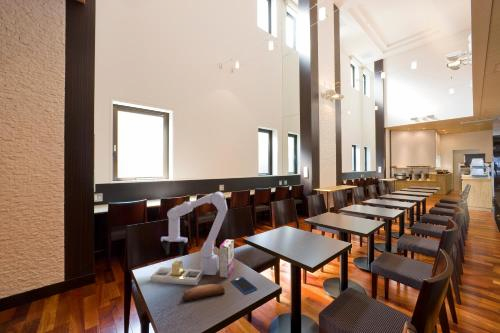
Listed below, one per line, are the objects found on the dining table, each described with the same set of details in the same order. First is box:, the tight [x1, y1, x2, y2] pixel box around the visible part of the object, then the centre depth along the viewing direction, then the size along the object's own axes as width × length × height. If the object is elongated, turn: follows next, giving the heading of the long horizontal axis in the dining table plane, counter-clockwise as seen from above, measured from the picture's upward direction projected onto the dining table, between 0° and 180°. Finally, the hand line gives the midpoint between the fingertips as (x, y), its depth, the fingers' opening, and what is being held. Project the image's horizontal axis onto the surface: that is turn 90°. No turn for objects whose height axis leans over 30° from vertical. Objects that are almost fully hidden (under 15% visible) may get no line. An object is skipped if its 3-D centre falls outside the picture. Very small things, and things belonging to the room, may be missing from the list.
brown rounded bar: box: [183, 283, 226, 302], centre depth 97 cm, size 18×7×7 cm
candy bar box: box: [219, 239, 235, 279], centre depth 116 cm, size 11×5×16 cm, turn 168°
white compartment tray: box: [149, 266, 204, 286], centre depth 110 cm, size 24×10×2 cm, turn 83°
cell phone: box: [230, 276, 258, 295], centre depth 104 cm, size 7×14×1 cm, turn 35°
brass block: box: [171, 260, 184, 277], centre depth 110 cm, size 4×4×8 cm
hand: (174, 254), depth 117 cm, fingers open, 7 cm apart
